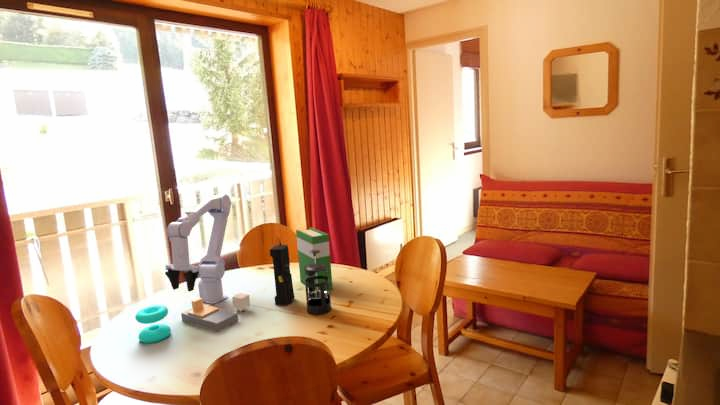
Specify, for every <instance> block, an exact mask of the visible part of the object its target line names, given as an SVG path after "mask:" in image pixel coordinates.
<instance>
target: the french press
mask: <svg viewBox="0 0 720 405" xmlns="http://www.w3.org/2000/svg"><path fill="white" fill-rule="evenodd" d="M319 252H320V251H319V250H312V251H309V253H310V254H313V255H314V258H315V256H316V253H319ZM327 268H328V265H327V264H323V263H316V259H315V264H310V265H307V266H305V267H304V270H305V274H306V275H308V278H307V279H305V285H304V289H305V296H306V297H305V298H306V313H307V314H309V315H311V316H322V315H326V314H329V313H330V312H332V309H333V308H332V307H333V306H332V302H331V293H330V292H331V290H329V278H328V277H327V276H317V272H318V271H322V270H323V271H325V272H327ZM315 273H316V276H313V275H314V274H315ZM314 279H316V282H317V279H325V280H326V281H325V282H322V283H317V284H315V282H314ZM307 282H308V283H307ZM325 285H327V291H326V290H325ZM308 287H309V288H308ZM315 287H317V290H315ZM318 287H320V290H318Z"/></svg>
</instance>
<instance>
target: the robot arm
mask: <svg viewBox="0 0 720 405" xmlns="http://www.w3.org/2000/svg"><path fill="white" fill-rule="evenodd" d="M231 207H232V201H231V198H230V196H229V195H227V194H207V195H204V197H202V201H201V202H200V203H199V204H198V205H197V207H195V208H194V209H193V210H186V211H185V212H184V214H183V215H182V216H181V217H178V218H177V220H176V221H172V222H170V223H169V224H168V225H167V229H166V231H165V233H166V235H167V237H168V240H169V242H170V246H171V256H172V257H171V258H172V263H168V264H165V272H164V274H165V276H166V277H167V278H168V280H169V282H170V284H171V287H172V289H173V291H175V290H177V289H179V287H180V273H181V272H184V273H183V277H184V278H185V279H184V280H185V282H186V288H187V292H192V291H194V290H195V289H194V288H195V285H196V280H197V278H200V280H199V282H198V293H199V298H202V301H203V303H206V304H211V305H214V304H216V303H219V302H221V301H223V300H225V299H228V298H229V296H228V295H224V291H223V282H222V279H223V277H224V275H225V270H226V267H225V265H226V262H225V261H224V259H223V258H222V257H221V254H222V250H223V244H224V240H225V234H226V228H227V225H228V224H227V223H228V220H229V215H230V212H231ZM206 213H209V215H210V216H211V217H212V218H213V224H212V229H211V233H210V237H209V238H210V239H209V242H208V246H207V252H206V255H205V256H203V257H202V258H200V262H199V264H198V265H194V264H190V263H191V262H190V254H189V253H190V252H189V239H188V237H189V236H190V234H191V231H192V230H193V228H194V227H195V226H197V224H199V222H200V220H201V217H202V216H203V215H205V214H206Z"/></svg>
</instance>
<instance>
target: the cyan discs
mask: <svg viewBox="0 0 720 405" xmlns="http://www.w3.org/2000/svg"><path fill="white" fill-rule="evenodd" d="M168 314H169V310H168V308H167V307H166V306H164V305H161V304H160V305H159V304H157V305H150V306H146V307H144V308H142V309H140V310H138V311H137V313H136V314H135V320H136V321H137V322H138V323H139V324H144V325H145V324H148V326H146V327H144V328H143V329H141V331H139V333H138V340H139V341H140V342H141V343H144V344H153V343H157V342H160V341H162V340H165V339H166V338H168V336H170V334H171V332H172V329H171V327H170V325H167V324H166V323H157V322H160V321H162V320H163V319H165V317H166V316H168Z"/></svg>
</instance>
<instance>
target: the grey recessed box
mask: <svg viewBox="0 0 720 405" xmlns="http://www.w3.org/2000/svg"><path fill="white" fill-rule="evenodd" d="M192 310H193V308H190V309H189V310H188V309H187V310H186V311H183V312H181V313H180V315H181V322H185V323H187V324H191V325H194V326H197V325H198V326H197V327H202V328H203V329H204V328H205V329H208V330H211V331H215V332H220V331H222V330H224V329H226V328H228V327H229V326H232V325H234V324H235V323H238V321H239V318H238V312H233V311H229V310H227V309H226V310H225V309H222V308H221V309H220V308H219V310H217V311H215V312H213V313H211V314H209V315H207V316H204V317H202V318H201V317H198V316H194V315H191V314H188V312H189V311H192Z"/></svg>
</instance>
